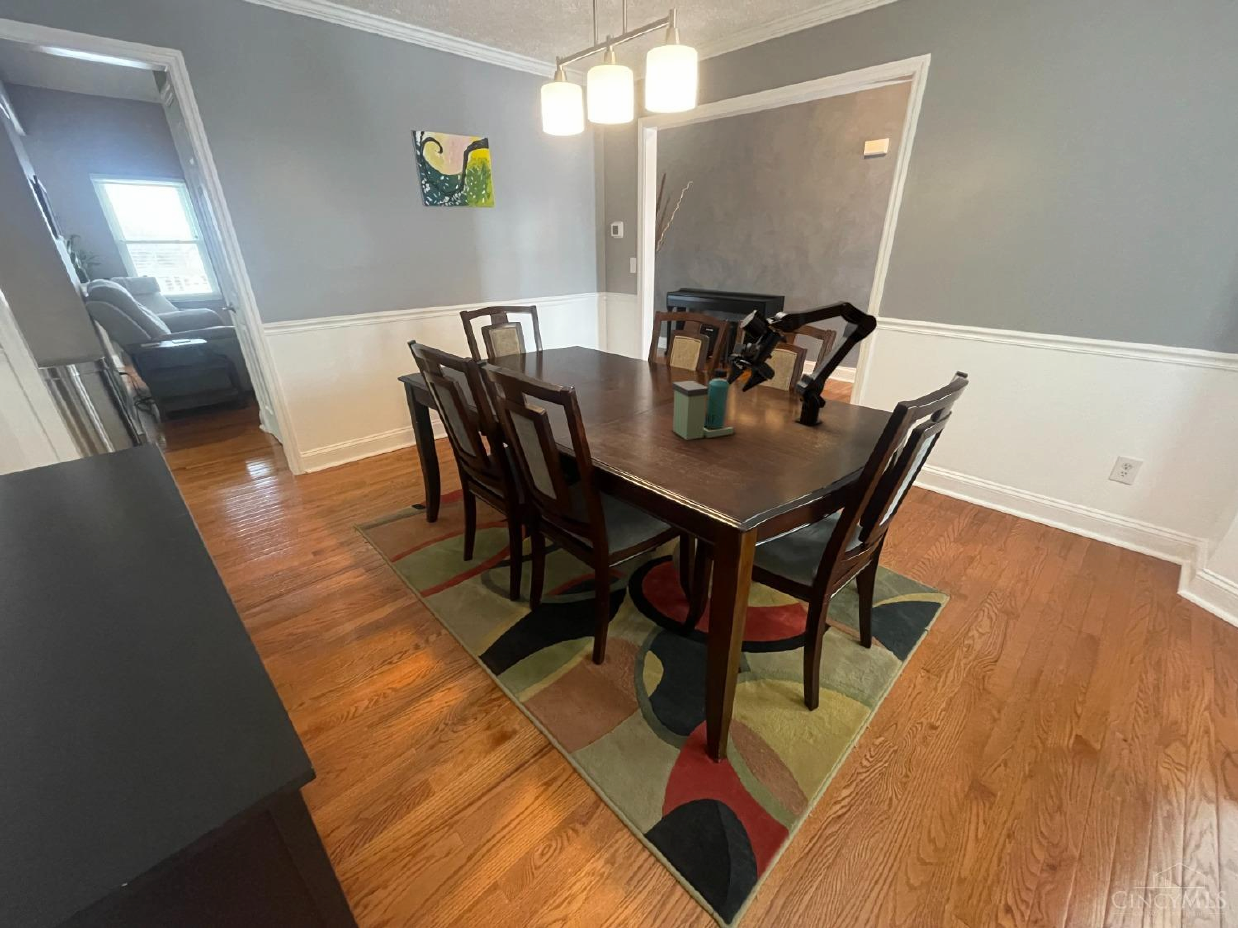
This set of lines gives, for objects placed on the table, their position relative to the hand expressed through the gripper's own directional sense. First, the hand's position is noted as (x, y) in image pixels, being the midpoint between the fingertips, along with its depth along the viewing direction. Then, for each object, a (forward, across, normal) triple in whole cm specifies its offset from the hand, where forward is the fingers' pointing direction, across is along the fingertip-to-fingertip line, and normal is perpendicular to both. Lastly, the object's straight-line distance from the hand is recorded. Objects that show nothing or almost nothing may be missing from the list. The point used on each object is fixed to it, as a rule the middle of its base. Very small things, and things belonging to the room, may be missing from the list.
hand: (734, 388), depth 157 cm
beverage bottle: (+15, -1, +3) cm, 15 cm away
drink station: (+17, -1, 0) cm, 17 cm away
